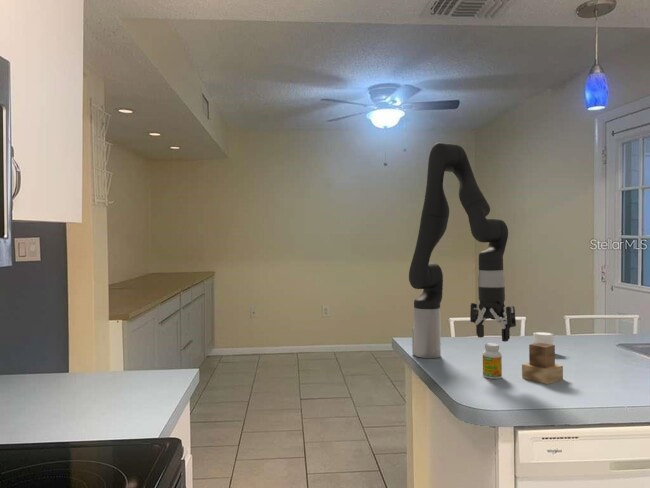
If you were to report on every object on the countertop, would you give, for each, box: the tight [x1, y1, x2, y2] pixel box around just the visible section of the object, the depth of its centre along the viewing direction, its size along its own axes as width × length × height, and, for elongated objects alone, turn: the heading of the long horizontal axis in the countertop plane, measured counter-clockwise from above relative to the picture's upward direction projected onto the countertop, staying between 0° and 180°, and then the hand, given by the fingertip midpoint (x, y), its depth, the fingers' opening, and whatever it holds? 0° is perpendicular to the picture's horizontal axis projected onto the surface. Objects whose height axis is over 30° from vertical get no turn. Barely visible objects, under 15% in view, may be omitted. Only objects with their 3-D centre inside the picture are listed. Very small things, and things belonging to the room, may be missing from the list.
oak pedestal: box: [521, 362, 564, 385], centre depth 139 cm, size 8×8×4 cm
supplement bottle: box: [482, 342, 503, 380], centre depth 142 cm, size 5×5×10 cm
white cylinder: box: [532, 331, 555, 345], centre depth 171 cm, size 7×7×7 cm
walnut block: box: [528, 342, 556, 368], centre depth 139 cm, size 5×5×6 cm
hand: (492, 339), depth 141 cm, fingers open, 8 cm apart
